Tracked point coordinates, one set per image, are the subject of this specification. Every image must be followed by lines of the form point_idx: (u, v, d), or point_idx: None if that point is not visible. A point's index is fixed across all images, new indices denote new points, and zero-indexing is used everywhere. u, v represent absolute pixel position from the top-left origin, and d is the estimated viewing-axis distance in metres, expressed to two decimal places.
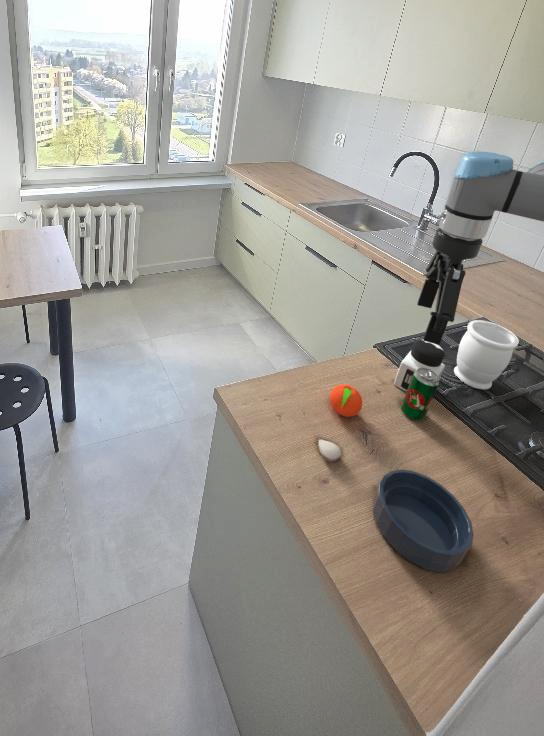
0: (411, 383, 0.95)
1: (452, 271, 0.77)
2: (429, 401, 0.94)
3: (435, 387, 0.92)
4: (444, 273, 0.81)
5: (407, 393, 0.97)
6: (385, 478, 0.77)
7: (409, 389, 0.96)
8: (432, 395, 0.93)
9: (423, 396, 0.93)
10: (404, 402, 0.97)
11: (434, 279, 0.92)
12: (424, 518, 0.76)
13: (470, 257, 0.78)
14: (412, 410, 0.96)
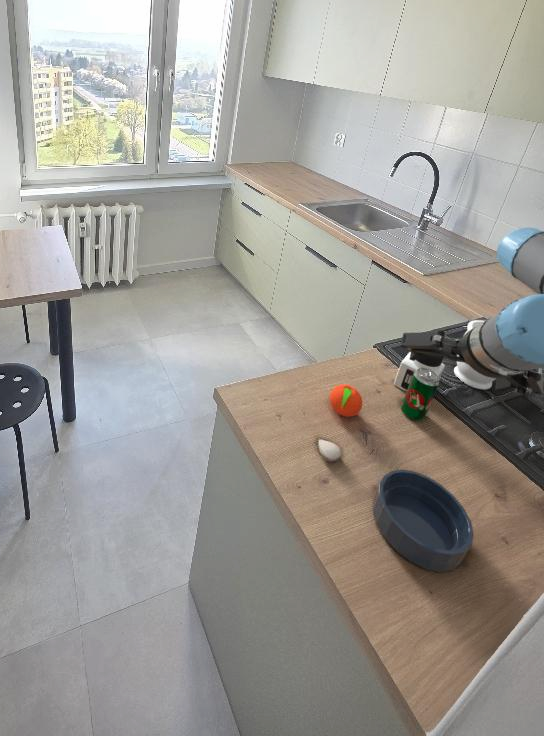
0: (411, 383, 0.95)
1: (540, 377, 0.61)
2: (429, 401, 0.94)
3: (435, 387, 0.92)
4: None
5: (407, 393, 0.97)
6: (385, 478, 0.77)
7: (409, 389, 0.96)
8: (432, 395, 0.93)
9: (423, 396, 0.93)
10: (404, 402, 0.97)
11: None
12: (424, 518, 0.76)
13: None
14: (412, 410, 0.96)
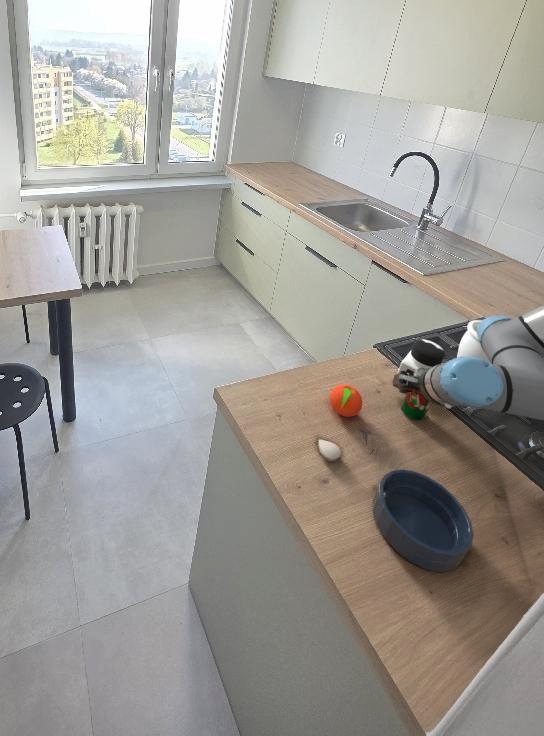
0: None
1: None
2: (429, 401, 0.94)
3: None
4: None
5: (407, 393, 0.97)
6: (385, 478, 0.77)
7: None
8: None
9: (423, 396, 0.93)
10: (404, 402, 0.97)
11: None
12: (424, 518, 0.76)
13: None
14: (412, 410, 0.96)
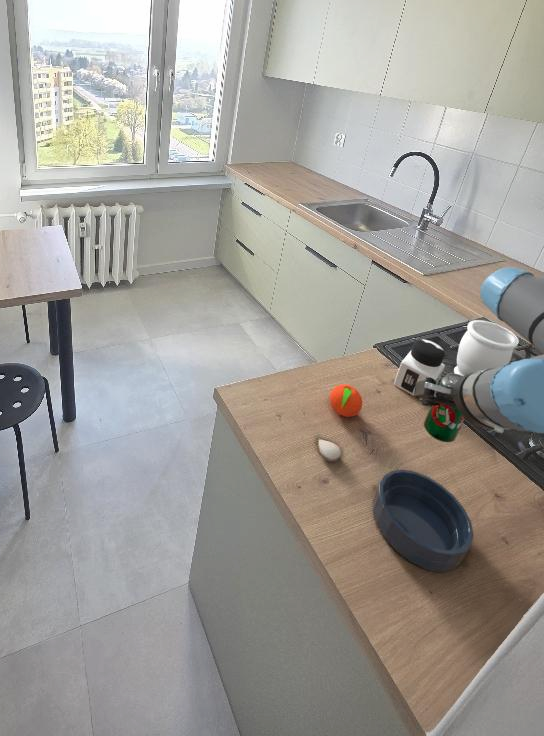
0: None
1: None
2: (462, 417, 0.71)
3: None
4: None
5: (432, 406, 0.74)
6: (385, 478, 0.77)
7: None
8: None
9: (455, 412, 0.71)
10: (428, 418, 0.75)
11: None
12: (424, 518, 0.76)
13: None
14: (439, 429, 0.73)
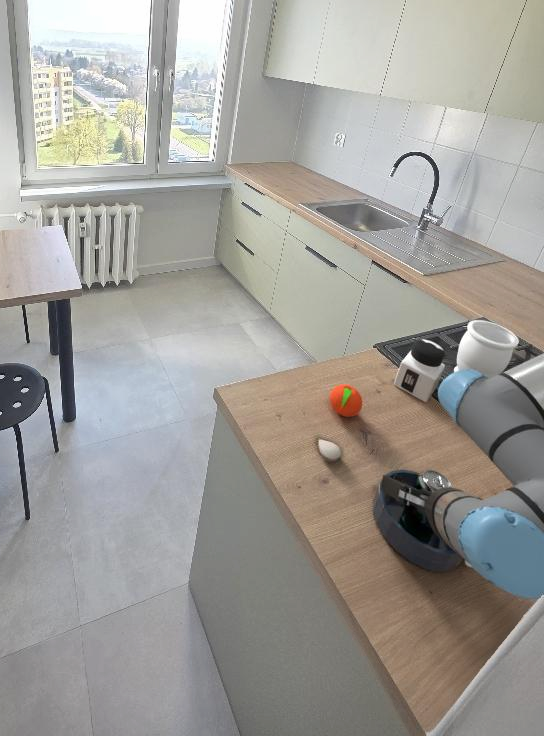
0: None
1: None
2: None
3: None
4: None
5: None
6: None
7: None
8: None
9: None
10: (405, 512, 0.74)
11: None
12: None
13: None
14: (416, 526, 0.72)
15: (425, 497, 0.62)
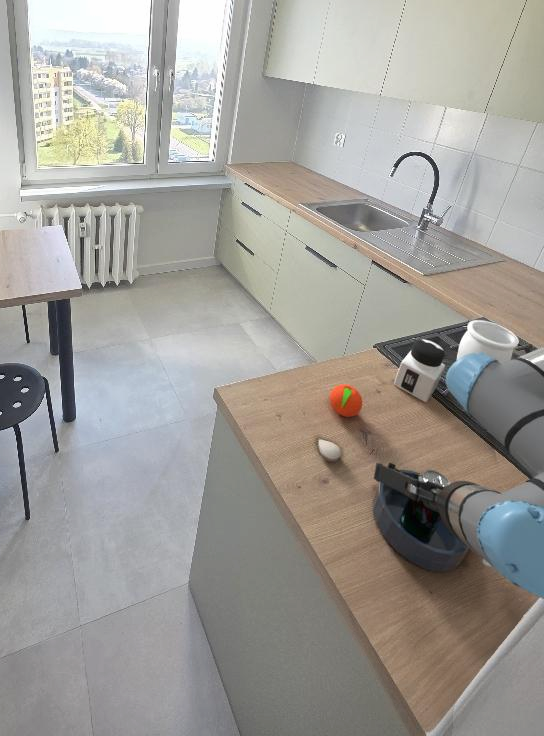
0: None
1: None
2: (439, 517, 0.70)
3: None
4: None
5: (410, 502, 0.73)
6: None
7: None
8: None
9: (431, 512, 0.69)
10: (405, 512, 0.74)
11: None
12: None
13: None
14: (416, 526, 0.72)
15: (437, 491, 0.58)
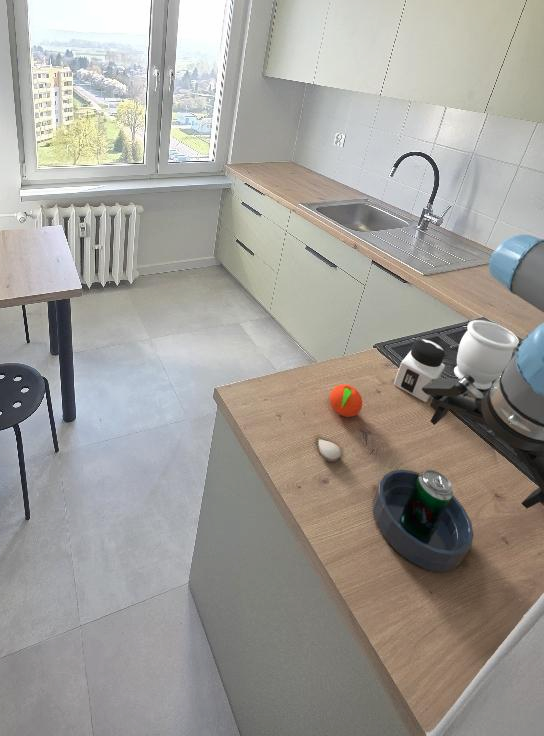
0: (415, 491, 0.71)
1: None
2: (439, 517, 0.70)
3: (447, 501, 0.68)
4: (528, 453, 0.52)
5: (410, 502, 0.73)
6: (385, 478, 0.77)
7: (412, 498, 0.72)
8: (443, 510, 0.69)
9: (431, 512, 0.69)
10: (405, 512, 0.74)
11: None
12: None
13: None
14: (416, 526, 0.72)
15: None
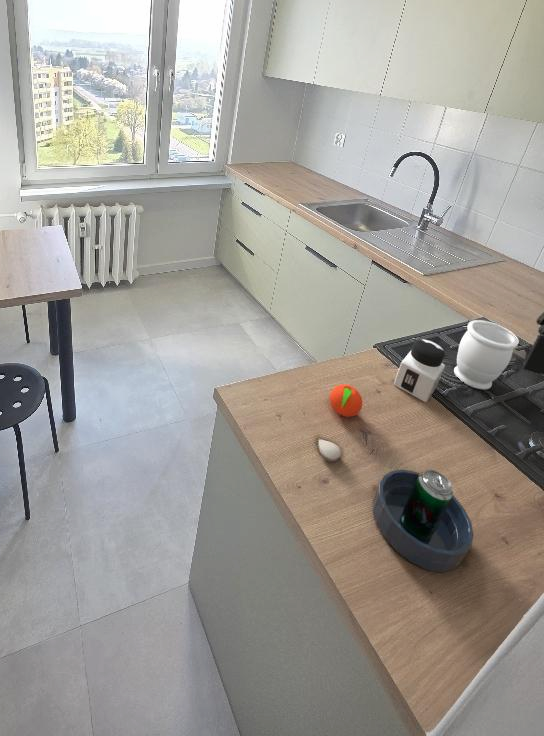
0: (415, 491, 0.71)
1: None
2: (439, 517, 0.70)
3: (447, 501, 0.68)
4: None
5: (410, 502, 0.73)
6: (385, 478, 0.77)
7: (412, 498, 0.72)
8: (443, 510, 0.69)
9: (431, 512, 0.69)
10: (405, 512, 0.74)
11: None
12: None
13: None
14: (416, 526, 0.72)
15: None
